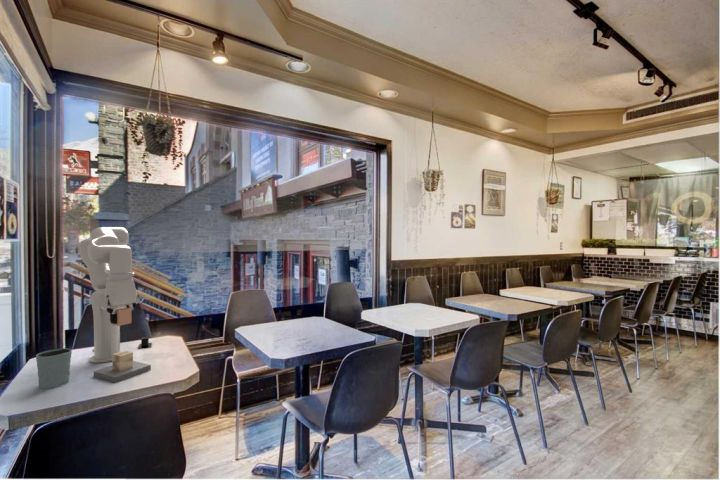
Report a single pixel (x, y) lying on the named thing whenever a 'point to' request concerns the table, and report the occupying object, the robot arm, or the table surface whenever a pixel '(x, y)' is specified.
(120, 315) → the terracotta block
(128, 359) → the maple block
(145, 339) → the black frame block
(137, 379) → the table surface
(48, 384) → the green cup
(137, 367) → the baseplate
